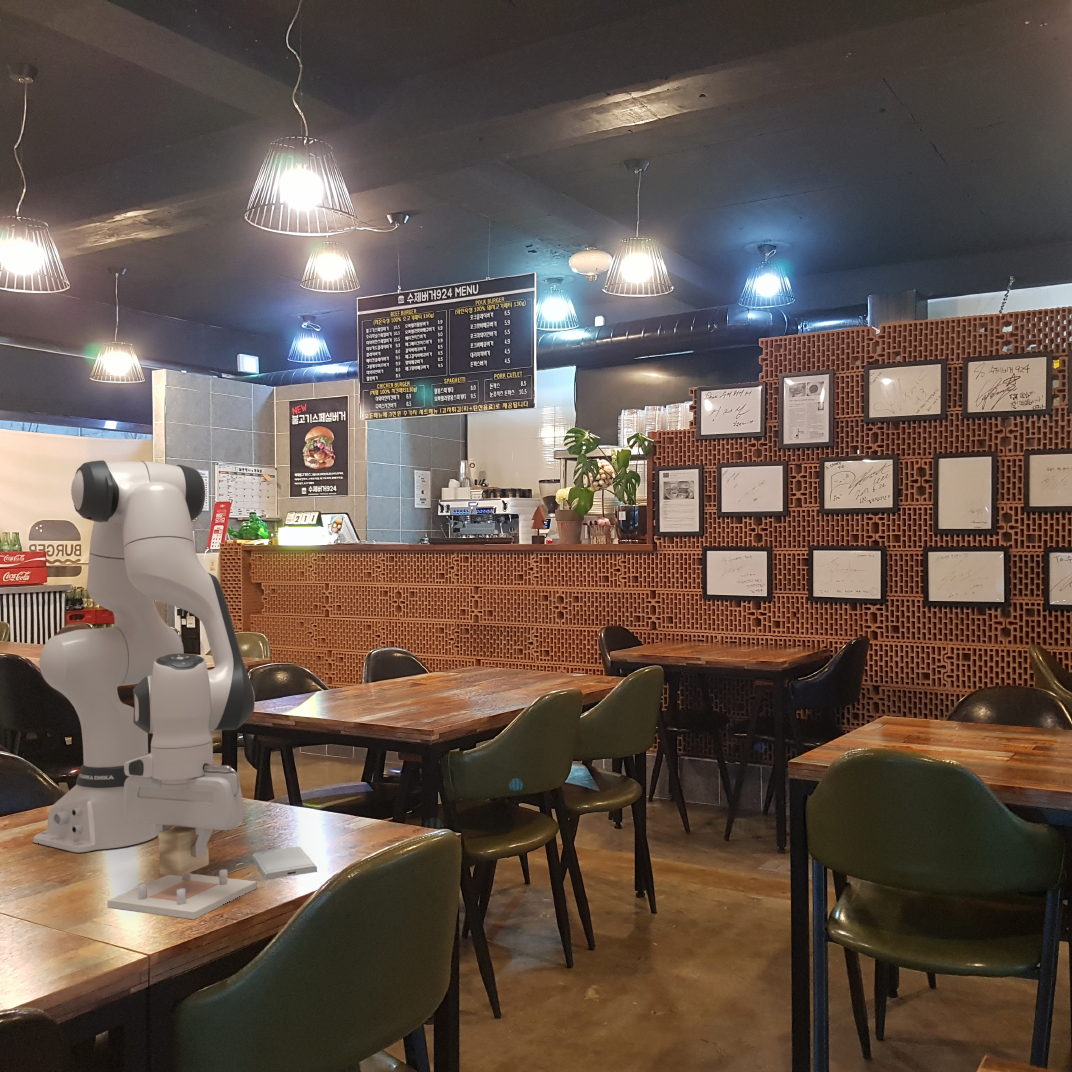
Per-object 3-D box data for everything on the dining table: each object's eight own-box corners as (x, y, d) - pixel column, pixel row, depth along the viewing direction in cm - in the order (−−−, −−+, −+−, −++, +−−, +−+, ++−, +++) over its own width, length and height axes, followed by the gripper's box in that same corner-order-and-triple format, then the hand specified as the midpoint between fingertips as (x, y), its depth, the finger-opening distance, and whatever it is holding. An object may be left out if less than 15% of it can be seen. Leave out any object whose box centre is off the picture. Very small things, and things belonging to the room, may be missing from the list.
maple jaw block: (159, 873, 149) (158, 833, 149) (187, 862, 154) (187, 822, 154) (181, 876, 147) (180, 835, 147) (208, 864, 153) (207, 824, 153)
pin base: (107, 907, 147) (107, 886, 147) (175, 878, 160) (174, 859, 160) (194, 919, 141) (193, 898, 141) (257, 888, 154) (256, 868, 154)
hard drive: (251, 853, 169) (265, 872, 158) (300, 845, 173) (317, 864, 162) (252, 863, 169) (265, 883, 158) (300, 855, 173) (317, 874, 162)
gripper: (252, 761, 150) (254, 854, 150) (145, 755, 158) (147, 843, 157) (224, 770, 144) (226, 866, 144) (115, 763, 152) (117, 855, 152)
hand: (184, 854), depth 151 cm, fingers closed on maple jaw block, 4 cm apart
